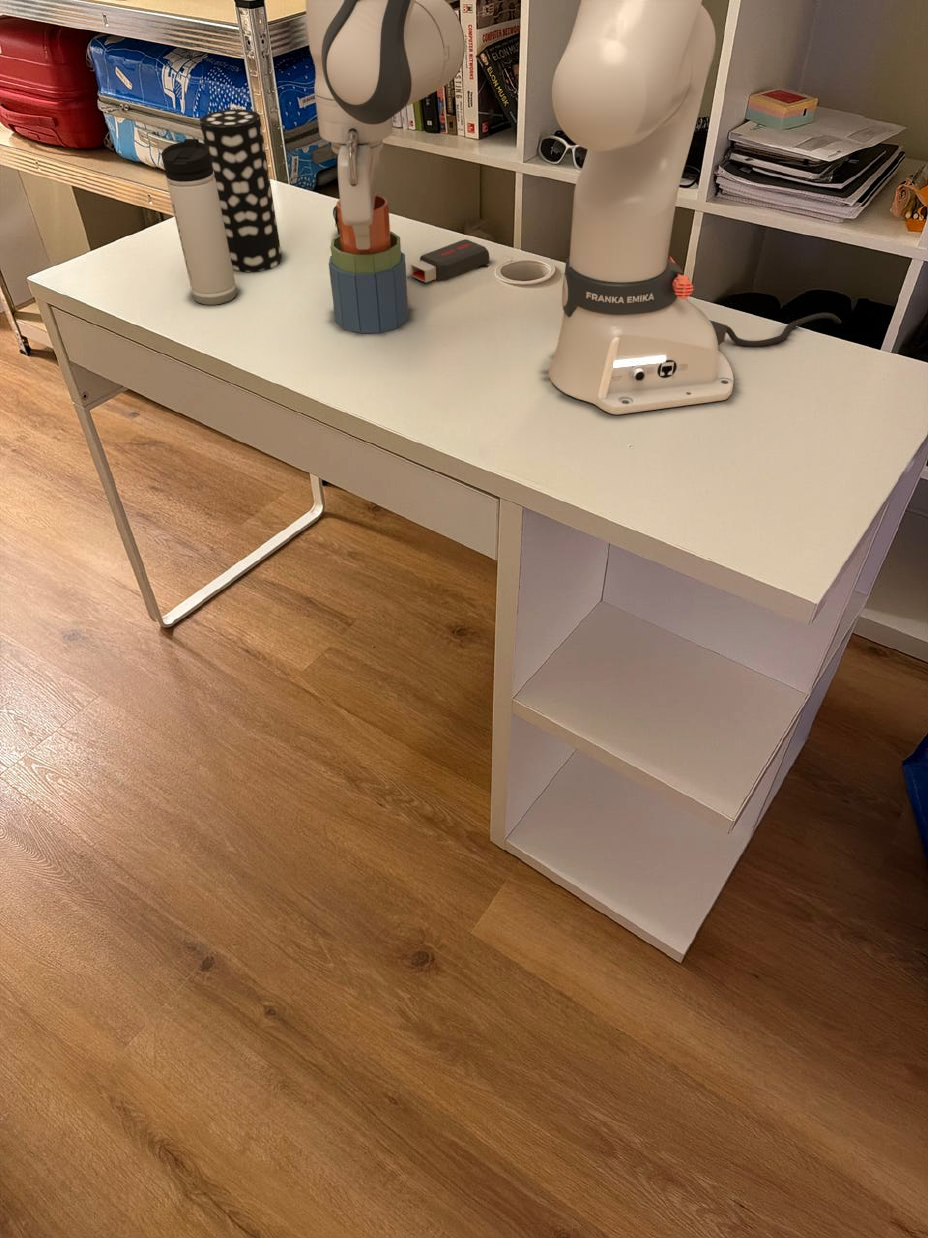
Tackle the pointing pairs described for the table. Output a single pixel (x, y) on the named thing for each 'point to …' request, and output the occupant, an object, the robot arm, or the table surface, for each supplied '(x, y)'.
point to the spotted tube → (243, 187)
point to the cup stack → (369, 288)
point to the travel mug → (199, 221)
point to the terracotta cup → (377, 230)
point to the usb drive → (450, 261)
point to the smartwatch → (336, 218)
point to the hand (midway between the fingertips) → (365, 235)
